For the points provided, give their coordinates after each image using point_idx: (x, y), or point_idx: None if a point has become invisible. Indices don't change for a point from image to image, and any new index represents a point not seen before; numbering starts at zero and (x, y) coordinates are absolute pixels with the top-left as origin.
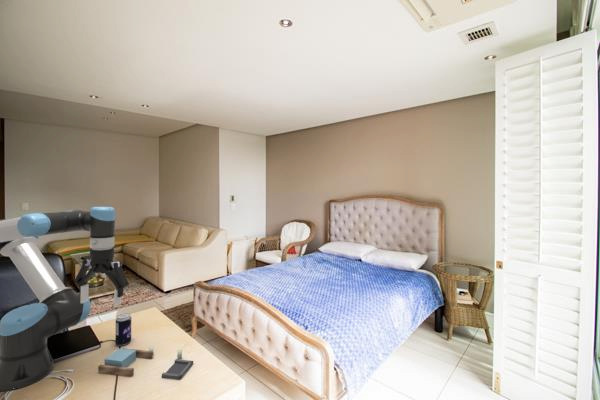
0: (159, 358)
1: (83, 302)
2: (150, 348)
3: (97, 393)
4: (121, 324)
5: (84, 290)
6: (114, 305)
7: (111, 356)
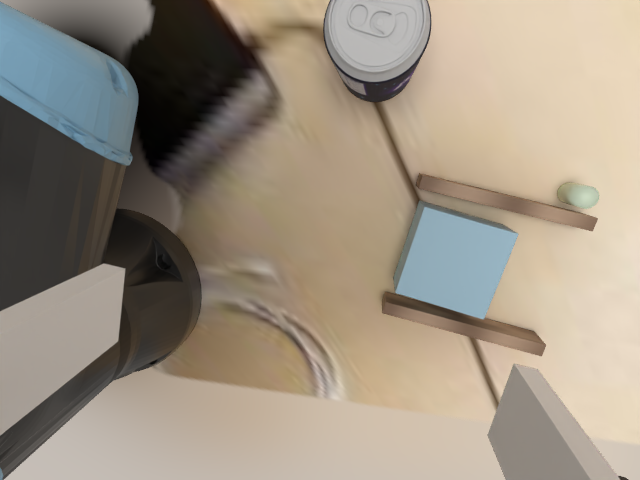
0: (618, 222)
1: (117, 330)
2: (583, 202)
3: (440, 411)
4: (384, 84)
5: (6, 399)
6: (496, 444)
7: (416, 274)
